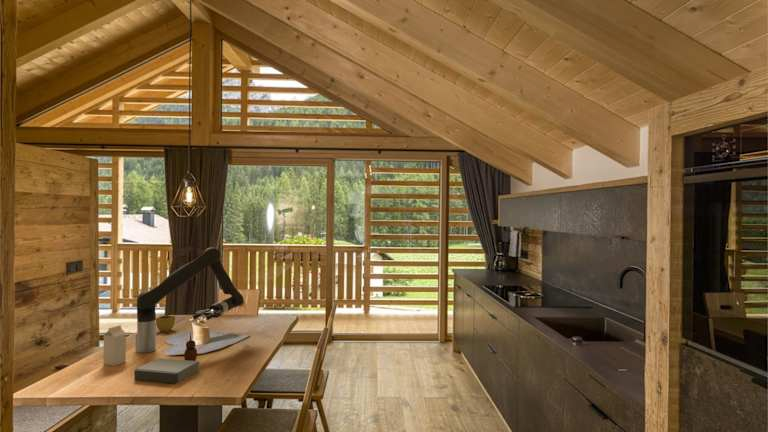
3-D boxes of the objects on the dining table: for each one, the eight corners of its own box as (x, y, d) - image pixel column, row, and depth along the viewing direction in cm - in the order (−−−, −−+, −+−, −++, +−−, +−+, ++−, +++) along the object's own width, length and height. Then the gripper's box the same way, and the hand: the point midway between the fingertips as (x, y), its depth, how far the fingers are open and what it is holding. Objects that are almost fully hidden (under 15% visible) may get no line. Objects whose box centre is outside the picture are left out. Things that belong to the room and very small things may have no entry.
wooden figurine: (187, 360, 244) (187, 332, 244) (198, 360, 245) (198, 332, 245) (182, 364, 237) (182, 335, 237) (194, 364, 238) (194, 335, 238)
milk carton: (125, 362, 241) (125, 325, 241) (113, 366, 234) (113, 328, 234) (115, 360, 243) (115, 324, 243) (103, 364, 237) (103, 327, 236)
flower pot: (167, 332, 298) (167, 319, 298) (155, 332, 300) (155, 318, 299) (175, 329, 306) (175, 315, 306) (164, 328, 308) (164, 315, 308)
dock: (134, 380, 216) (134, 369, 215) (159, 367, 232) (159, 358, 232) (176, 384, 211) (176, 373, 211) (198, 371, 228) (198, 361, 228)
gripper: (207, 302, 267) (188, 310, 252) (228, 302, 264) (211, 311, 248) (208, 315, 268) (189, 324, 252) (229, 315, 264) (212, 324, 249)
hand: (200, 317), depth 250 cm, fingers open, 8 cm apart
